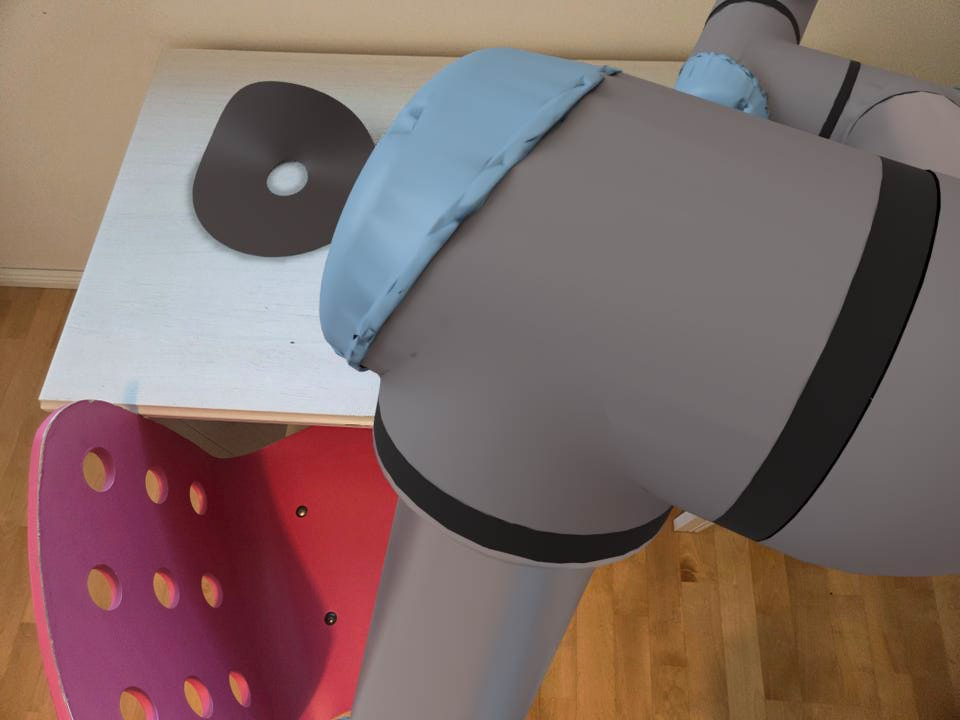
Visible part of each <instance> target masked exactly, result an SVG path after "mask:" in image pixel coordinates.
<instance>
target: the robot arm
mask: <svg viewBox="0 0 960 720" xmlns="http://www.w3.org/2000/svg"><path fill="white" fill-rule="evenodd" d="M818 2H819V0H715V2H714V4H713V6H712V8H711V10H710V12H709V14H708V16H707V18H706V20H705V22H704V27H703V29H702V31H701V33H700V35H699V37H698V39H697V41H696V43H695V44H694V47H693V48H692V50H691V52H690V54H689V56H688V58H687V60H686V61H685V62H684V63H683V64H682V66H681V68H680V70H679V72H678V75H677V79H676V83H675V85H674V87H673V88H672V87H669V86H666V85H662V84H659V83H656V82H653V81H651V80H648V79H644V78H641V77H639V76H635V75H632V74H629V73H626V72H624V70H623V69H621V68H618V67H613V66H609V65H607V64H603V65H596V64H592V63H588V62H582V61H579V60H578V61H577V60H572V59H567V58H564V57H558V56H554V55H549V54H545V53H539V52H536V51H535V52H534V51H530V50H525V49H522V48H521V49H520V48H516V47H508V46H495V47H487V48H482V49H478V50H475V51H473V52H469V53H467V54H465V55H463V56H462V57H461V56H460V58H457V59H456V60H454V61H452V62H451V63H449V64H447V65H445V67H443V68H441V69H440V70H439V71H437V72H436V74H434V75H433V76H432V77H430V78H429V79H428V80H427V81H426V82H425V83H424V84H423V85H422V86H421V87H420V88H419V89H418V90H417V91H416V92H415V93H414V94H413V95H412V96H411V97H410V99H409V100H408V101H407V103H406V104H405V105H404V106H403V107H402V108H401V110H400V111H399V113H397V115H396V117H395V119H394V120H393V122H392V123H391V125H390V126H389V128H388V129H387V130H386V132H385V133H384V134H383V135H382V136H381V137H380V139H379V140H378V142H377V144H376V145H375V148H374V150H373V152H372V153H371V155H370V157H369V158H368V160H367V162H366V164H365V166H364V167H363V169H362V171H361V173H360V175H359V177H358V179H357V181H356V182H355V184H354V186H353V189H352V191H351V193H350V195H349V197H348V199H347V202H346V204H345V206H344V209H343V211H342V214H341V216H340V219H339V221H338V224H337V227H336V230H335V232H334V235H333V238H332V242H330V244H329V249H328V253H327V256H326V260H325V264H324V267H323V271H322V275H321V282H320V288H319V289H320V290H319V305H318V313H319V322H320V323H319V324H320V329H321V332H322V336H323V338H324V340H325V341H326V343H328V344H329V346H330V347H331V348H332V351H334V353H335V354H336V355H337V356H339V357H341V358H342V359H344V360H346V363H347V365H348V366H349V367H351V368H353V369H354V370H355V371H357V372H359V373H364V372H367V371H371V372H372V373H374V374H375V375H376V374H377V376H378V377H379V379H380V381H379V389H378V395H377V400H376V406H375V407H376V408H375V412H374V418H373V423H372V424H373V425H372V446H373V450H374V453H375V457H376V461H377V463H378V465H379V467H380V469H381V473H382V474H383V476H384V478H385V479H386V481H387V482H388V483H389V485H390V487H391V488H392V489H393V491H394V492H395V493H396V494H397V496H398V497H397V500H396V501H397V502H396V504H395V505H396V506H395V511H394V514H393V520H392V523H391V529H390V533H389V538H388V542H387V547H386V552H385V556H384V560H383V565H382V570H381V574H380V579H379V583H378V587H377V592H376V596H375V601H374V605H373V610H372V615H371V619H370V623H369V628H368V632H367V637H366V641H365V646H364V651H363V655H362V660H361V665H360V669H359V673H358V679H357V682H356V687H355V691H354V696H353V701H352V705H351V711H350V713H349V716H342V717H339V718H337V719H336V720H526V718H527V716H528V714H529V712H530V710H531V707H532V705H533V703H534V701H535V699H536V697H537V695H538V693H539V690H540V688H541V686H542V684H543V681H544V680H545V677H546V675H547V673H548V671H549V669H550V667H551V664H552V662H553V660H554V658H555V656H556V654H557V651H558V650H559V647H560V645H561V643H562V641H563V638H564V636H565V635H566V632H567V630H568V628H569V626H570V624H571V621H572V619H573V618H574V615H575V613H576V611H577V609H578V606H579V605H580V602H581V600H582V598H583V596H584V593H585V592H586V589H587V587H588V585H589V582H590V581H591V578H592V576H593V575H594V572H595V570H596V568H599V567H604V566H607V565H611V564H614V563H618V562H620V561H622V560H625V559H627V558H629V557H631V556H634V555H635V554H637V553H639V552H640V551H642V549H644V548H646V547H647V546H648V545H649V544H650V543H651V542H652V541H653V540H654V539H655V538H656V537H657V536H658V535H659V534H660V532H661V530H662V529H663V527H664V525H665V524H666V522H667V520H668V519H669V516H670V514H671V512H672V510H673V508H677V509H680V510H682V511H684V512H686V513H689V514H691V515H693V516H696V517H698V518H700V519H703V520H704V521H707V522H711V523H712V524H715V525H717V526H719V527H722V528H724V529H725V530H728V531H730V532H733V533H735V534H738V535H739V536H742V537H744V538H746V539H748V540H750V541H753V542H755V543H757V544H760V545H763V546H765V547H767V548H770V549H772V550H775V551H776V552H779V553H781V554H784V555H786V556H789V557H791V558H793V559H795V560H799V561H801V562H804V563H807V564H811V565H817V566H819V567H824V568H828V569H833V570H836V571H841V572H845V573H849V574H853V575H864V576H865V575H867V576H884V577H936V576H937V577H938V576H949V575H958V574H960V87H959V86H947V85H943V84H939V83H935V82H931V81H929V80H924V79H921V78H918V77H914V76H910V75H906V74H902V73H899V72H895V71H891V70H888V69H884V68H880V67H876V66H872V65H869V64H865V63H861V61H857V60H853V59H850V58H847V57H843V56H839V55H835V54H832V53H829V52H826V51H822V50H819V49H814V48H811V47H808V46H805V45H801V42H802V40H803V37H804V35H805V32H806V30H807V27H808V26H809V23H810V20H811V18H812V15H813V14H814V11H815V9H816V7H817V4H818Z"/></svg>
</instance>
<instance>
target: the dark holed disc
mask: <svg viewBox="0 0 960 720" xmlns="http://www.w3.org/2000/svg"><path fill="white" fill-rule="evenodd" d="M375 147H376V145H375V142H374V140H373V138H372V136H371V134H370V132H369V130H368V129H367V127H366V126H365V124H364V123H363V121H362V120H361V119H360V118H359V117H358V116H357V114H355V112H354V111H352V109H350V108H349V107H348V106H346V104H344V103H342V102H341V101H339V100H338V99H337V98H335V97H332V96H331V95H329V94H327V93H325V92H322V91H320V90H318V89H315V88H313V87H310V86H306V85H303V84H298V83H293V82H288V81H278V80H264V81H257V82H252V83H249V84H247V85H245V86H243V87H241V88H240V89H239V90H237V91H236V92H235V93H234V94H233V95H232V97H231V98H230V99H229V100H228V102H227V103H226V105H225V106H224V108H223V110H222V112H221V113H220V116H219V118H218V120H217V122H216V124H215V126H214V129H213V131H212V133H211V136H210V137H209V141H208V143H207V145H206V147H205V149H204V152H203V154H202V156H201V160H200V161H199V164H198V167H197V170H196V173H195V176H194V180H193V185H192V194H191V195H192V205H193V209H194V211H195V215H196V217H197V219H198V221H199V223H200V224H201V226H202V227H203V228H204V230H205V231H206V233H208V234H209V235H210V237H213V239H215V241H217V242H218V243H220V244H222V245H224V246H225V247H228V248H229V249H232V250H234V251H237V252H240V253H244V254H247V255H251V256H258V257H286V256H287V257H288V256H293V255H299V254H303V253H306V252H310V251H313V250H317V249H319V248H321V247H323V246H325V245H328V244H331V242H332V238H333V235H334V232H335V230H336V227H337V224H338V221H339V219H340V216H341V214H342V211H343V209H344V206H345V204H346V202H347V199H348V197H349V195H350V193H351V191H352V189H353V186H354V184H355V182H356V181H357V179H358V177H359V175H360V173H361V171H362V169H363V167H364V166H365V164H366V162H367V160H368V158H369V157H370V155H371V153H372V152H373V150H374V148H375ZM285 160H286V161H287V160H294V161H295V160H296V161H298V162H300V163H301V164H302V165H303V166H304V167H305V170H306V172H307V180H306V183H305V185H304V186H303V187H302V188H301V189H300V190H298V191H296V192H295V193H292V194H287V195H280V194H276V193H274V192H272V191H271V190H270V189H269V188H268V185H267V179H268V176H269V174H270V173H271V171H272V170H273V169H274V168H275V167H276V166H277V165H279V163H281V162H283V161H285Z"/></svg>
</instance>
